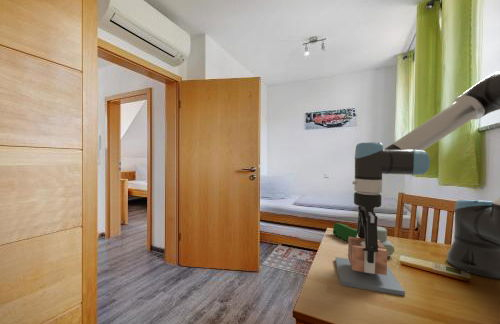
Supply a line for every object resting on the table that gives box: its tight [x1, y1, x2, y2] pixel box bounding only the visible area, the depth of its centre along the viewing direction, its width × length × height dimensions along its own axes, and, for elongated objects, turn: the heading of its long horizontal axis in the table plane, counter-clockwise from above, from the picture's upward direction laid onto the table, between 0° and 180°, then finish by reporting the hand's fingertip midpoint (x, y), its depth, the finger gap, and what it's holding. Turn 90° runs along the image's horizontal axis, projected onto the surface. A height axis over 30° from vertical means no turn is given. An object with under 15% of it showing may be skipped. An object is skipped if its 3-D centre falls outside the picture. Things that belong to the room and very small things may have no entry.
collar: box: [347, 236, 388, 275], centre depth 68 cm, size 9×9×7 cm
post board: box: [335, 257, 406, 297], centre depth 69 cm, size 16×16×1 cm
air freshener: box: [377, 225, 396, 257], centre depth 84 cm, size 11×8×10 cm
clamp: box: [332, 222, 358, 242], centre depth 101 cm, size 12×6×9 cm, turn 14°
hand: (365, 264), depth 68 cm, fingers closed on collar, 9 cm apart
